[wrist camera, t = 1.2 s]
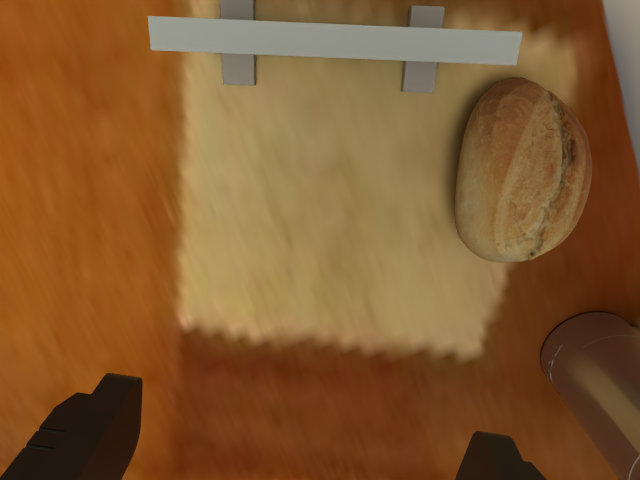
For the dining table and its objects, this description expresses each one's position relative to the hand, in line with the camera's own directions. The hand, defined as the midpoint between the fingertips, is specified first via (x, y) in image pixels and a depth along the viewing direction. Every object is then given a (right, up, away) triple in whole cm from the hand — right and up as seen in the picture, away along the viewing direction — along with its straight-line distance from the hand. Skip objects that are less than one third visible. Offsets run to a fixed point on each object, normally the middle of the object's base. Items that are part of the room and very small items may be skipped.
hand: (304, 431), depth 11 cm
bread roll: (+16, +11, +28) cm, 34 cm away
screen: (+1, +19, +24) cm, 31 cm away
